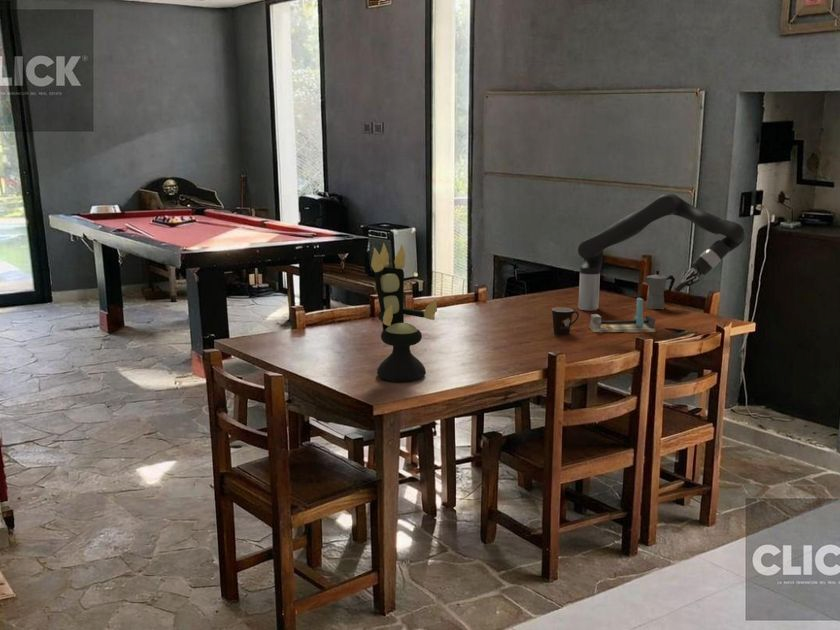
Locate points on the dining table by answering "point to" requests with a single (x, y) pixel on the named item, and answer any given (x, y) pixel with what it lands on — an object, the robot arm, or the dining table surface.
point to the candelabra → (397, 319)
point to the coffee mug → (562, 320)
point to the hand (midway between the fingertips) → (675, 290)
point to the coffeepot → (657, 290)
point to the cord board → (597, 326)
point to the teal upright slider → (639, 313)
